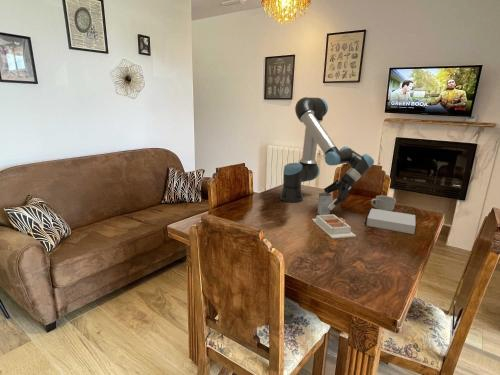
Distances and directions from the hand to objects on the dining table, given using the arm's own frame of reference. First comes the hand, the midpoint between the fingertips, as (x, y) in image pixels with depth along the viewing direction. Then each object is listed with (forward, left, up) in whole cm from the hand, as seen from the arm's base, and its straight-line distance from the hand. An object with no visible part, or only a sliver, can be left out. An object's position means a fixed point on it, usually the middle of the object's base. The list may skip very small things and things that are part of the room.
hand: (323, 204), depth 166 cm
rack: (+3, -19, -6) cm, 20 cm away
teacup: (+35, +12, -6) cm, 37 cm away
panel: (0, +1, -6) cm, 6 cm away
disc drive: (+34, -9, -7) cm, 35 cm away
